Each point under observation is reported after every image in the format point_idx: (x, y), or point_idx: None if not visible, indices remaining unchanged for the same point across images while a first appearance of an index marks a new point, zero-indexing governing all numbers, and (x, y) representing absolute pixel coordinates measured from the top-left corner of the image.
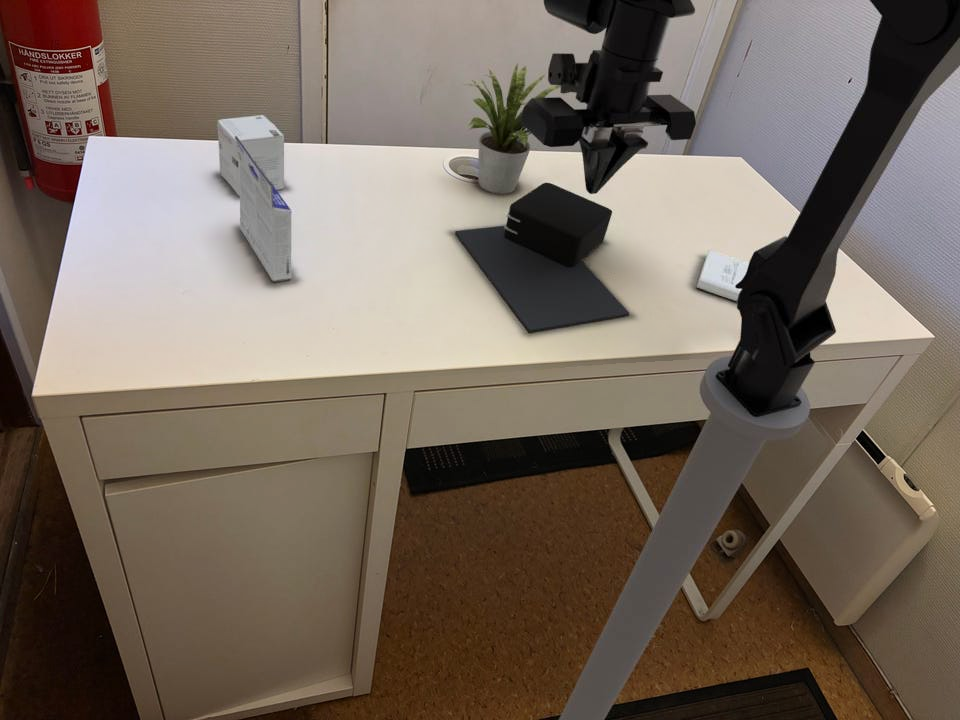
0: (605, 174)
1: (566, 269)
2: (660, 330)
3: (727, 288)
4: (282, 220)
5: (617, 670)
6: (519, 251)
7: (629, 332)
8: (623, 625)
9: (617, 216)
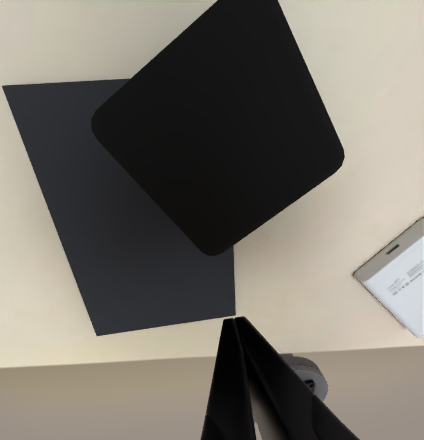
0: (261, 436)
1: None
2: None
3: (380, 299)
4: None
5: None
6: (131, 178)
7: (219, 333)
8: None
9: (393, 63)
